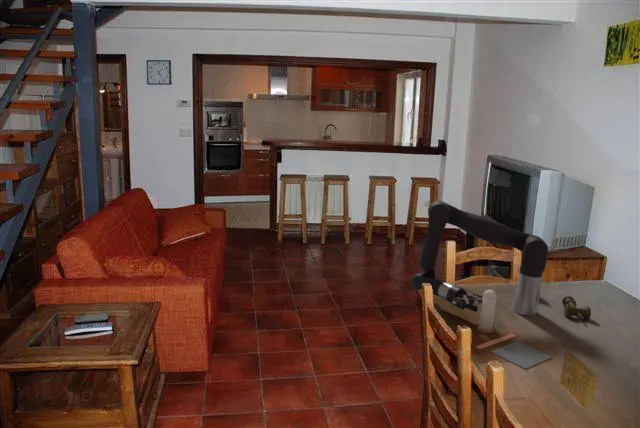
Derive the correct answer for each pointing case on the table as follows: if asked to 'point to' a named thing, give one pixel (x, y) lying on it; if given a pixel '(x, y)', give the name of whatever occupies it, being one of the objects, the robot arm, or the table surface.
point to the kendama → (575, 309)
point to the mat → (521, 355)
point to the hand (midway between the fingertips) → (484, 307)
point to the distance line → (495, 341)
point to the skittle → (487, 312)
